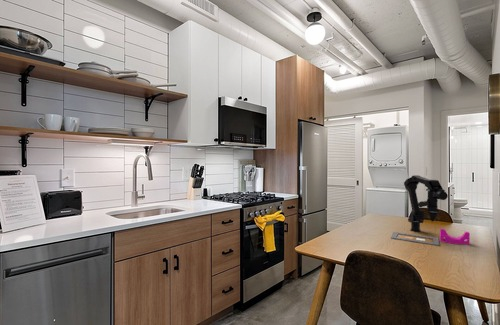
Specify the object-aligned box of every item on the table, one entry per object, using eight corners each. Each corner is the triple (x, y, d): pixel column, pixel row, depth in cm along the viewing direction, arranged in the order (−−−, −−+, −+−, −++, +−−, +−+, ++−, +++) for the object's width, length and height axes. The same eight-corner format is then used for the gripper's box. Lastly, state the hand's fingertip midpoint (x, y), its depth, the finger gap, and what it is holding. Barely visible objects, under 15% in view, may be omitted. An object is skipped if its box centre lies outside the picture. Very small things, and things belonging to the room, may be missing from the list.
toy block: (440, 241, 173) (440, 230, 173) (440, 239, 178) (440, 228, 178) (470, 246, 165) (470, 234, 165) (468, 243, 170) (468, 231, 170)
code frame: (393, 232, 194) (393, 231, 194) (438, 238, 179) (438, 238, 179) (390, 238, 179) (390, 237, 179) (439, 245, 164) (439, 244, 164)
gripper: (418, 195, 194) (418, 216, 195) (418, 198, 179) (418, 221, 179) (437, 196, 188) (437, 218, 188) (438, 199, 173) (438, 223, 173)
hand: (432, 220), depth 182 cm, fingers open, 9 cm apart
